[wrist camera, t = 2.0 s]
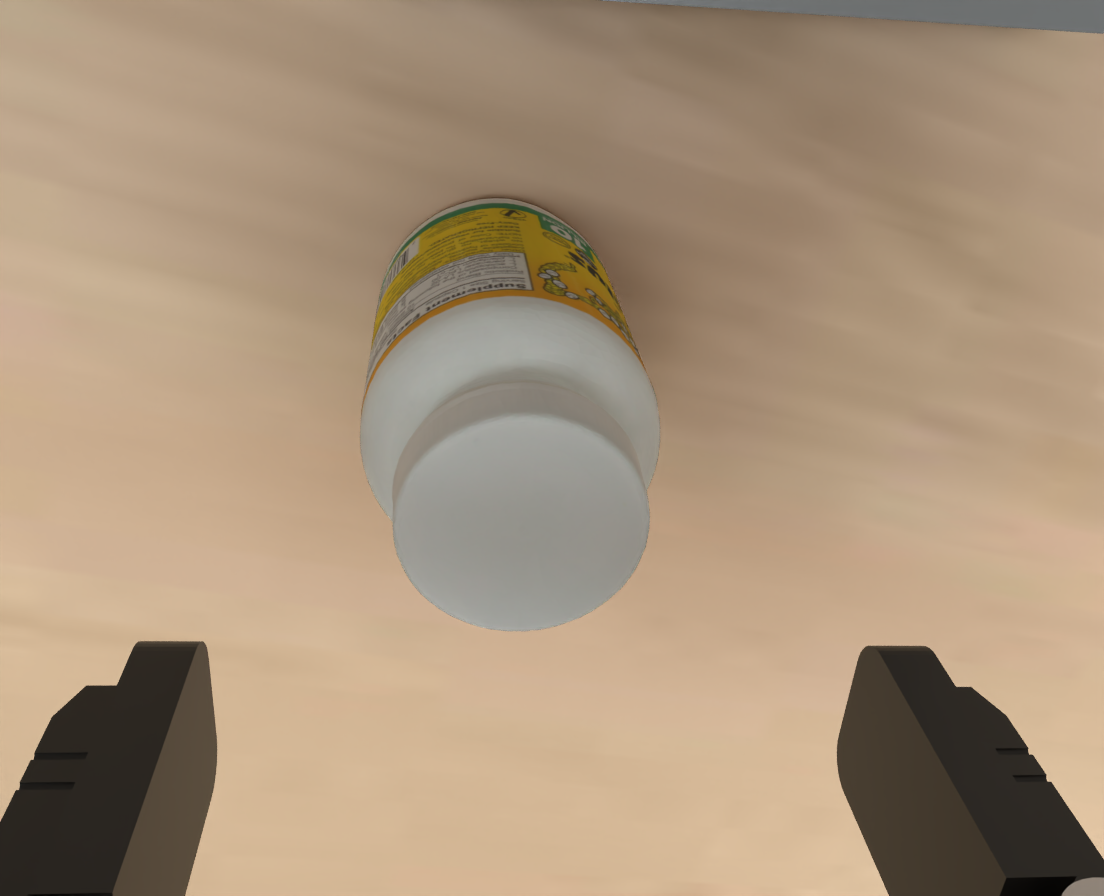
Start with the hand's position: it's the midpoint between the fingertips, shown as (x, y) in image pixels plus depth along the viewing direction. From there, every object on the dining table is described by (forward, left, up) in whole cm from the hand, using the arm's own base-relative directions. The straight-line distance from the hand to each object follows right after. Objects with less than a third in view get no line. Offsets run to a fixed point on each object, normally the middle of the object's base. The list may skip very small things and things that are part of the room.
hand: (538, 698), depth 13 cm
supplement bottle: (0, 0, -14) cm, 14 cm away
